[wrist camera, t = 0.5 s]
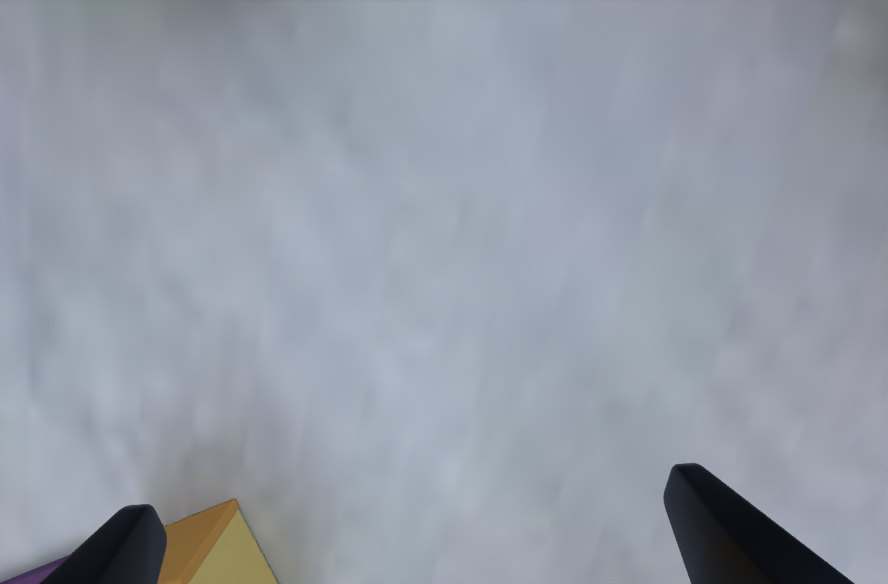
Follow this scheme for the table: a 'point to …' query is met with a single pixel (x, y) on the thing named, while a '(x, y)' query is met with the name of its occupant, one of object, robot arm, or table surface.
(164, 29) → the table surface
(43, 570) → the towel
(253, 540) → the cheese
